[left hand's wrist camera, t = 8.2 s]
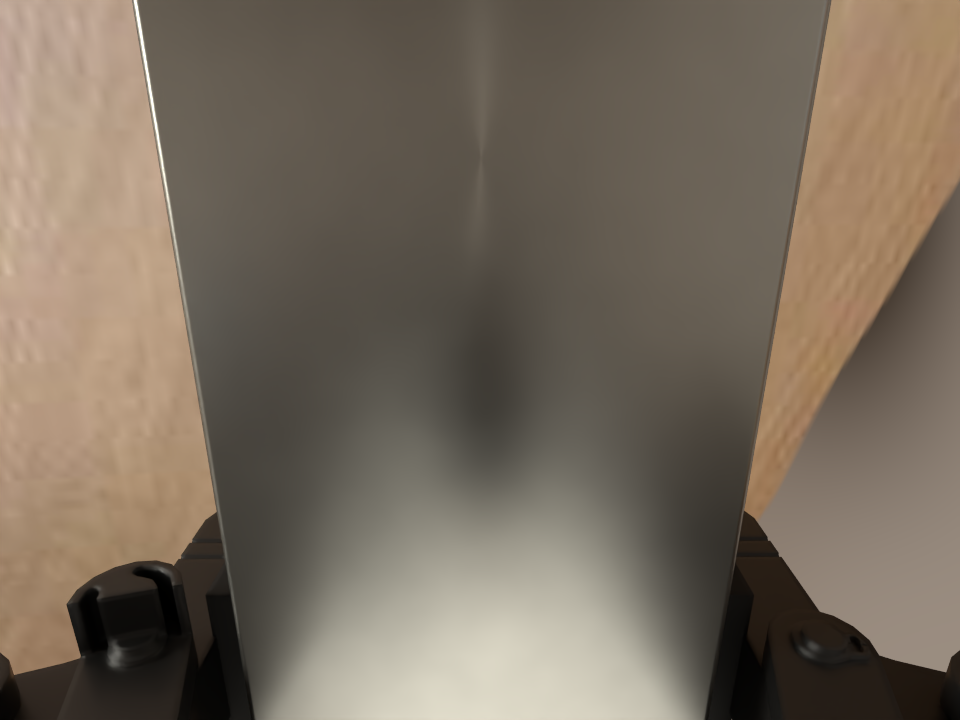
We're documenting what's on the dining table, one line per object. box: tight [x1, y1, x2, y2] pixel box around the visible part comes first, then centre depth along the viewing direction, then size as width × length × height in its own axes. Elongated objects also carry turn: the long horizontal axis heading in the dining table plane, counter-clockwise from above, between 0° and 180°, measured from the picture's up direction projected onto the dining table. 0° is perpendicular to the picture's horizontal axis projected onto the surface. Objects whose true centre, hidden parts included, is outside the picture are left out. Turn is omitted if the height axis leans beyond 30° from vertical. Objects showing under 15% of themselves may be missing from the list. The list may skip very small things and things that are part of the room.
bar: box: [132, 0, 831, 720], centre depth 9 cm, size 21×6×8 cm, turn 0°
